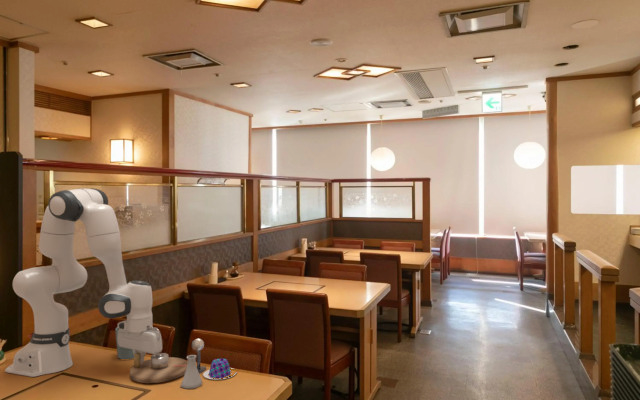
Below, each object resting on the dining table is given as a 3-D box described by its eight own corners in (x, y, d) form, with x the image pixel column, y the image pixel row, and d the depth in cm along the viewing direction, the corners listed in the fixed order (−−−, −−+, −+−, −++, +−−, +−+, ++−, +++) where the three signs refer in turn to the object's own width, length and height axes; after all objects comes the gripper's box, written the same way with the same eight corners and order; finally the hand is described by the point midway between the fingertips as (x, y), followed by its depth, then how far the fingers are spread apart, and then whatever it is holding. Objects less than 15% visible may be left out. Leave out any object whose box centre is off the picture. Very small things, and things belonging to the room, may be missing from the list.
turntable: (122, 384, 153) (122, 363, 153) (139, 363, 173) (139, 345, 173) (182, 381, 155) (182, 361, 155) (192, 361, 175) (192, 343, 175)
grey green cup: (129, 361, 176) (129, 331, 176) (109, 359, 179) (109, 329, 180) (147, 353, 186) (147, 324, 186) (127, 351, 189) (127, 322, 189)
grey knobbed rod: (190, 372, 165) (190, 339, 165) (195, 368, 169) (195, 336, 169) (202, 373, 165) (202, 340, 165) (206, 369, 169) (206, 336, 169)
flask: (196, 390, 149) (196, 360, 149) (176, 388, 151) (176, 359, 151) (205, 382, 156) (206, 353, 156) (187, 380, 158) (187, 352, 158)
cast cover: (149, 370, 160) (149, 357, 160) (153, 364, 166) (153, 352, 166) (166, 369, 161) (166, 357, 161) (170, 363, 167) (170, 351, 167)
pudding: (220, 366, 172) (220, 353, 172) (243, 373, 165) (243, 359, 165) (196, 376, 162) (196, 362, 162) (219, 384, 155) (219, 369, 155)
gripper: (166, 326, 163) (166, 363, 163) (128, 319, 173) (128, 355, 173) (152, 330, 158) (152, 369, 158) (114, 323, 167) (114, 360, 167)
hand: (139, 361), depth 165 cm, fingers closed
